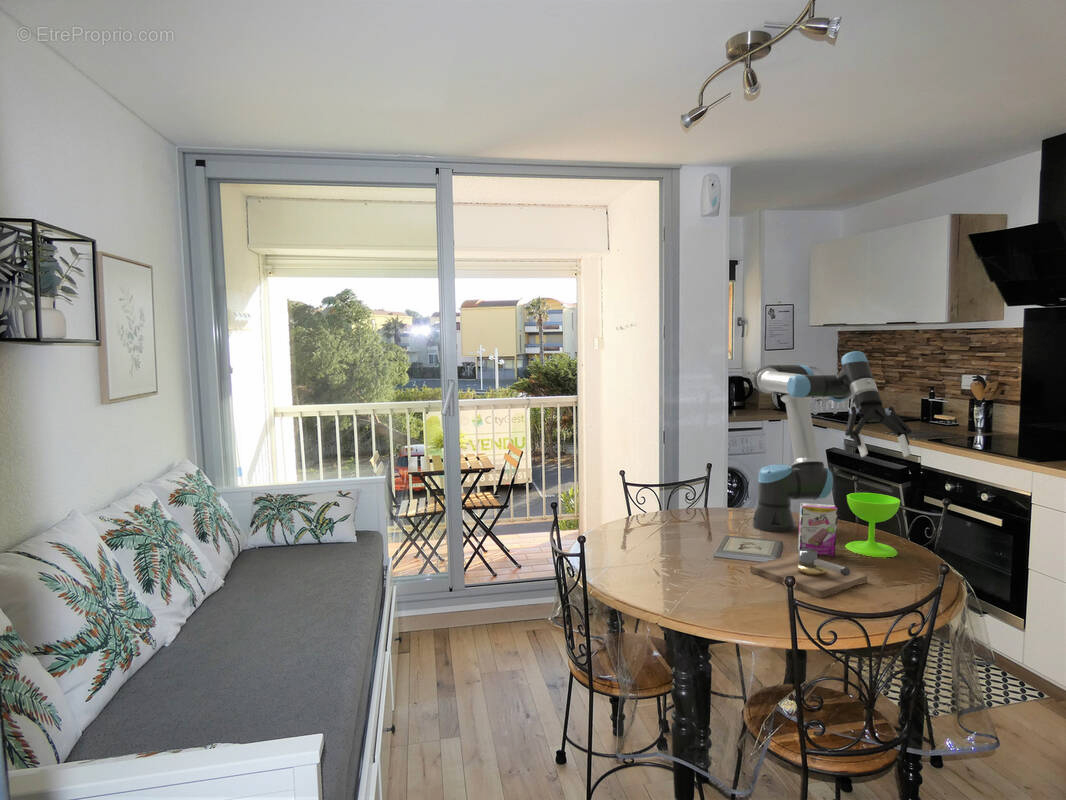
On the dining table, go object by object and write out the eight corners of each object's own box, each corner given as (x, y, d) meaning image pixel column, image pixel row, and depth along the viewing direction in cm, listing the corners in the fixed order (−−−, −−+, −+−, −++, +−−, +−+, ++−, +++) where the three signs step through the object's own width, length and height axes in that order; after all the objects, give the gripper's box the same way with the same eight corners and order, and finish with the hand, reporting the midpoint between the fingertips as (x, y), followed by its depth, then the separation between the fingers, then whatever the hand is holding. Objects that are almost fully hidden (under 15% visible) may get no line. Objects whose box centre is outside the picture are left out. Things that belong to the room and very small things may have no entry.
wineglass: (848, 540, 230) (850, 490, 229) (900, 548, 221) (902, 496, 220) (840, 552, 217) (843, 499, 216) (895, 561, 208) (897, 506, 207)
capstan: (791, 569, 195) (792, 551, 194) (808, 564, 199) (809, 546, 198) (840, 586, 181) (841, 566, 181) (857, 580, 185) (858, 561, 185)
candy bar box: (799, 554, 216) (801, 505, 214) (797, 549, 220) (799, 502, 219) (836, 557, 213) (838, 508, 211) (833, 552, 217) (835, 504, 216)
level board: (750, 572, 199) (750, 565, 199) (796, 558, 211) (796, 552, 211) (820, 598, 179) (821, 590, 179) (867, 581, 191) (867, 574, 190)
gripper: (833, 389, 204) (852, 450, 193) (909, 389, 206) (932, 449, 195) (823, 401, 210) (840, 460, 200) (896, 401, 212) (918, 460, 201)
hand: (886, 455), depth 197 cm, fingers open, 13 cm apart
